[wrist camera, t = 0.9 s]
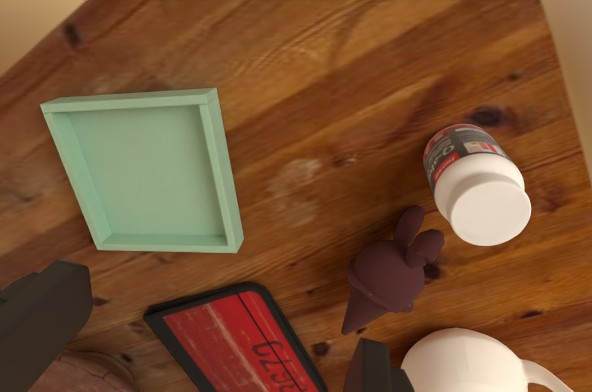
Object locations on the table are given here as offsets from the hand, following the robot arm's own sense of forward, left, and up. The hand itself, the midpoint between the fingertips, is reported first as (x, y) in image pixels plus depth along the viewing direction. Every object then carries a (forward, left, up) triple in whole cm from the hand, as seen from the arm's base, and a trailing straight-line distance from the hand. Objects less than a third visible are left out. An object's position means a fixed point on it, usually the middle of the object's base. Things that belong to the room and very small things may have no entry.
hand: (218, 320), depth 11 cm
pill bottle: (+5, +12, -25) cm, 28 cm away
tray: (+6, -16, -24) cm, 30 cm away
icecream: (+16, +6, -25) cm, 30 cm away
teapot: (+29, +14, -25) cm, 40 cm away
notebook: (+31, -11, -25) cm, 41 cm away
